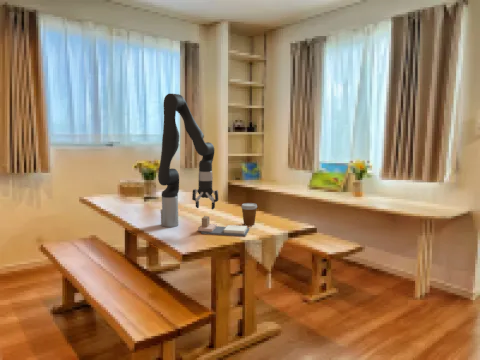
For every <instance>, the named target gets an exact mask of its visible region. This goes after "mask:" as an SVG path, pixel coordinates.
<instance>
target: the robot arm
mask: <svg viewBox="0 0 480 360" xmlns="http://www.w3.org/2000/svg"><path fill="white" fill-rule="evenodd" d="M190 110H191V109H190V107H189V106H188V103H187V101H186V99H185V98H184V96H183V95H181V94H179V93H178V94H177V93H167V94H166V95H165V96H164V97H163V125H162V126H163V127H162V129H163V130H162V138H161V139H162V140H161V153H160V154H161V155H160V161H159V167H158V172H157V173H158V174H157V180H158V182H159V184H160V185H161V186H166V187H165V189H164V190H162V191H161V209H160V226H161V227H165V228H174V227H177V226H179V192H180V173H179V170H177V169H176V168H171V163H172V160H173V158H174V157H175V155H176V153H177V151H178V149H179V146H180V145H179V144H180V131H179V130H178V126H177V124H176V113H178V114H179V116H180V117H181V118H182V120H183V124H184V125H183V126H184V129H185V131H186V134H187V135H188V136H189V138H190V139H191V140H192V143H193V147H194V149H195V151H196V153H198V155H199V156H201V160H200V161H199V162H198V189H196V188H194V189H192V193H191V194H192V196H191V197H192V199H191V200H192V201H194V202H195V208H196V209H199V207H200V199H209V200H210V201H211V210H214V209H215V208H216V202H218V201H219V191H218V189H216V190H213V180H214V179H213V161H214V156H215V146H214V144H213V143H212V142H205V140H204V138H205V135H204V133H203V131H202V129H201V127H199V125H198V123H197V122H196V119H194V117H193V114H192V113H191V111H190ZM197 193H198V196H197ZM212 194H214V196H213V195H212Z"/></svg>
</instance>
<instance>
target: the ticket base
mask: <svg viewBox="0 0 480 360" xmlns="http://www.w3.org/2000/svg"><path fill="white" fill-rule="evenodd" d="M249 231H250V228H249V227H248V226H247V225H237V224H236V225H235V224H228V225H225V226H220V225H219V226H218V225H217V227H216V228H215V229H214V230H213V231H212V232H208V231H200V233H201V235H212V236H213V235H214V236H217V235H218V236H229V237H230V236H231V237H232V236H233V237H246V236H247V235H248V233H249Z"/></svg>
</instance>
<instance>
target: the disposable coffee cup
mask: <svg viewBox="0 0 480 360" xmlns="http://www.w3.org/2000/svg"><path fill="white" fill-rule="evenodd" d="M257 208H258V205H257V203H253V202H245V203H242V204H241V210H242V211H241V212H242V220H243V226H247V227H248V226H249V227H250V226H252V227H253V226H254V225H255V223H256V215H257Z"/></svg>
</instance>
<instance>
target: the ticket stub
mask: <svg viewBox="0 0 480 360" xmlns="http://www.w3.org/2000/svg"><path fill="white" fill-rule="evenodd" d="M217 226H218V225H217V224H216V223H214V224H213V223H210V216H207V215H204V216H203V217H201V225H200V226H198V228H197V231H198V232H202V231H208V232H212V231H213V230H214V229H215V228H216V227H217Z"/></svg>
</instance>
